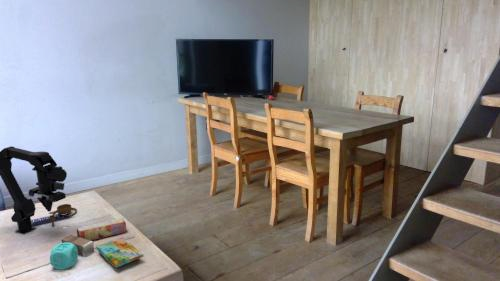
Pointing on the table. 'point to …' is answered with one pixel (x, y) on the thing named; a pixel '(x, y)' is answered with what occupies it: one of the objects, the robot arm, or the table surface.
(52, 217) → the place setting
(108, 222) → the snack package
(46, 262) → the table surface
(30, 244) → the table surface
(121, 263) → the puzzle game
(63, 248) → the decorative dice
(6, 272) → the table surface
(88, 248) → the walnut block
